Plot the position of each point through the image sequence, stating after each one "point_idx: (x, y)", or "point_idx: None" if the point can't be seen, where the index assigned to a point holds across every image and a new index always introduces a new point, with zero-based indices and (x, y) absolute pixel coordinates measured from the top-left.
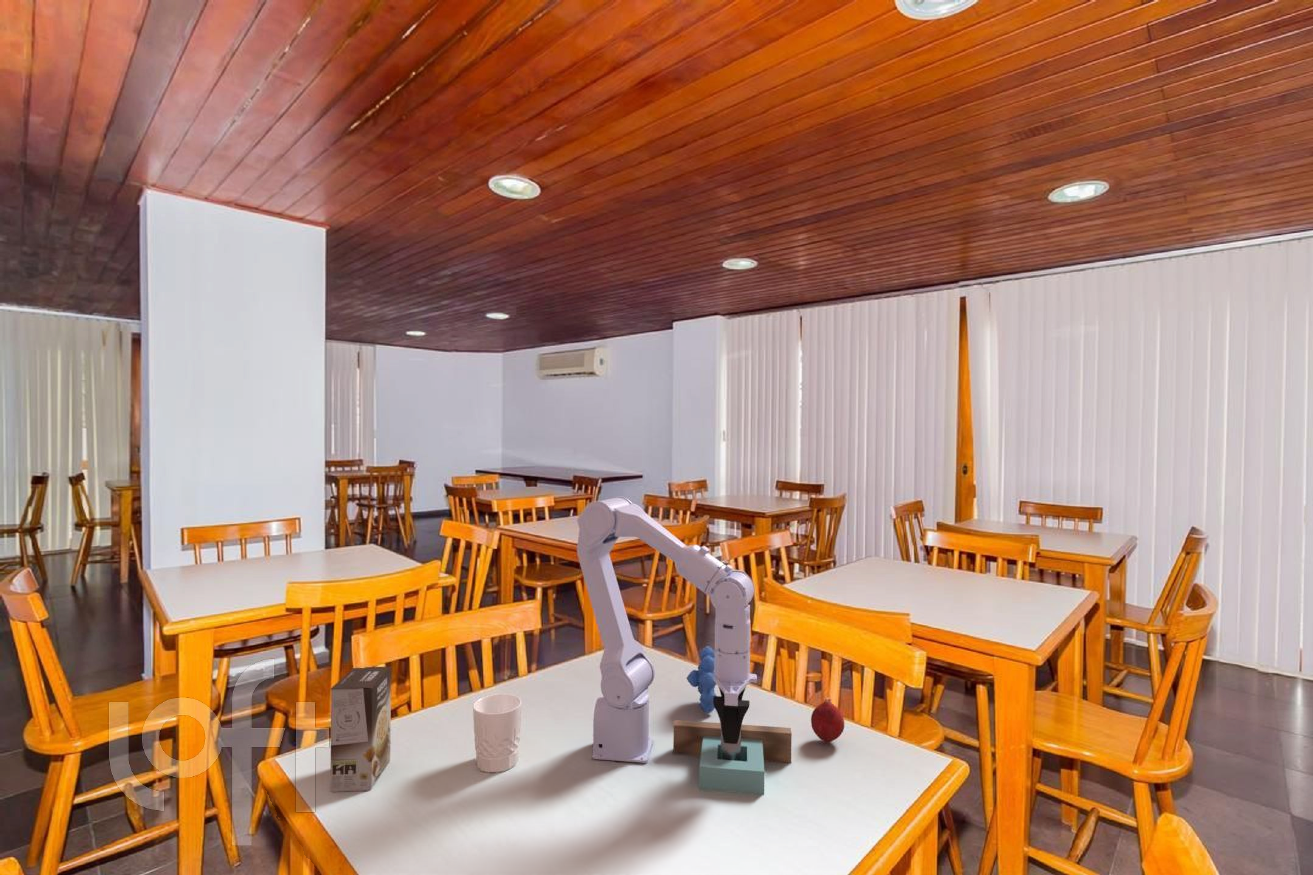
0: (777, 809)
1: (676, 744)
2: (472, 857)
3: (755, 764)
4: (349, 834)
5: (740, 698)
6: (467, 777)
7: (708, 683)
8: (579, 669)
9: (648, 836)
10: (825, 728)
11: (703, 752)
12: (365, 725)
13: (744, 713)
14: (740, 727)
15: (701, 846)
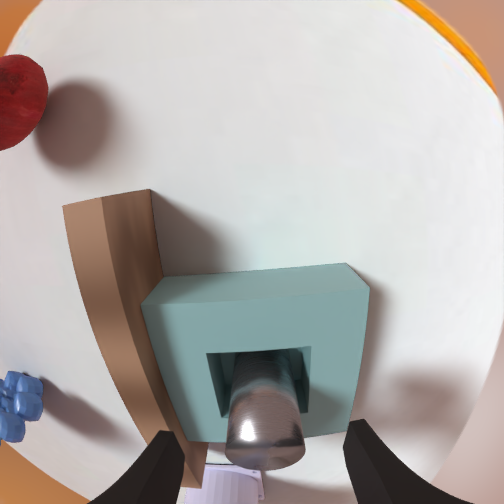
0: (403, 226)
1: (205, 453)
2: (429, 477)
3: (326, 319)
4: None
5: (140, 500)
6: None
7: (19, 432)
8: (61, 479)
9: (445, 406)
10: (30, 94)
11: None
12: None
13: (459, 499)
14: (401, 461)
15: (477, 345)
